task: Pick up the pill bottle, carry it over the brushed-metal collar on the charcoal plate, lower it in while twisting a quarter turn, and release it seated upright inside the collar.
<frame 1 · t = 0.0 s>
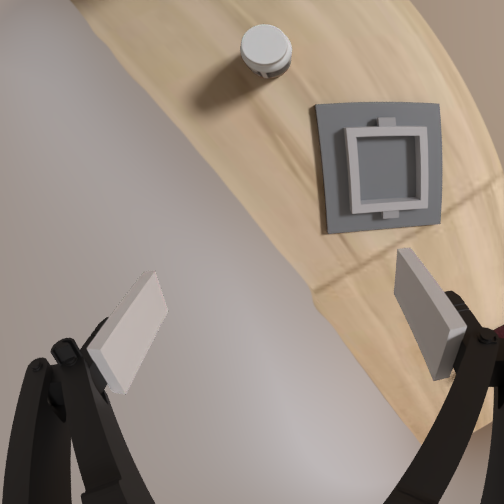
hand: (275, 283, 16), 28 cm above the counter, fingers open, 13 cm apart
vegetable: (498, 340, 50), on the counter
pill bottle: (269, 59, 35), on the counter
socket: (384, 165, 39), on the counter
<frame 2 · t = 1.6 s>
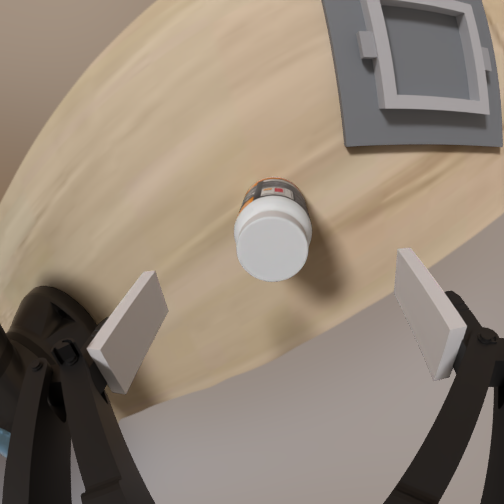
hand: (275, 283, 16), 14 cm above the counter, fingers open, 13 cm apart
pill bottle: (274, 204, 29), on the counter
socket: (422, 53, 21), on the counter
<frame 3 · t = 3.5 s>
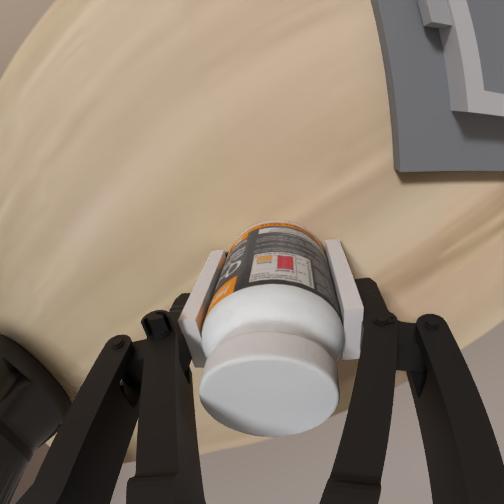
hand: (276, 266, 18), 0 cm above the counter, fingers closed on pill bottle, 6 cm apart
pill bottle: (277, 261, 18), on the counter, touching gripper
socket: (499, 32, 10), on the counter
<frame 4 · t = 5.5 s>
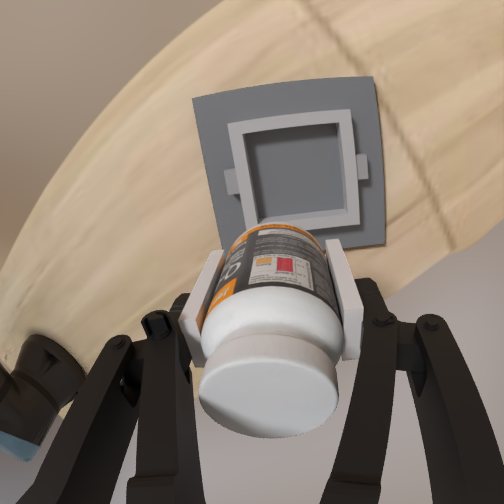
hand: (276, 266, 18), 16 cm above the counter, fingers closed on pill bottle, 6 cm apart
pill bottle: (277, 263, 18), point 15 cm above the counter, touching gripper
socket: (296, 169, 31), on the counter
when the fingers open (3 cm above the counter, at t = 7.9 s): pill bottle drops 2 cm, resting on socket.
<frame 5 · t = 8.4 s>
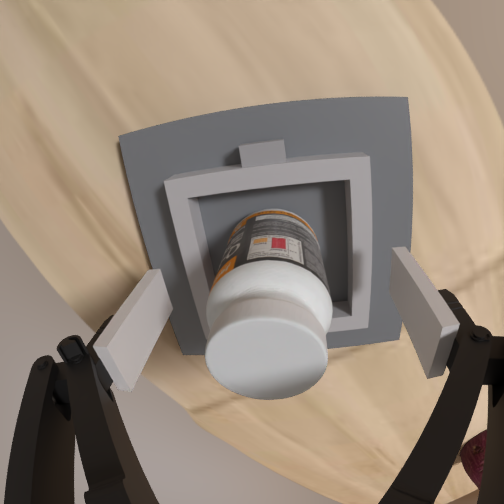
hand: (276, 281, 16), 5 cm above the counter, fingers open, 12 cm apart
vegetable: (485, 438, 32), on the counter
pill bottle: (274, 247, 20), point 1 cm above the counter, touching socket
socket: (278, 242, 21), on the counter
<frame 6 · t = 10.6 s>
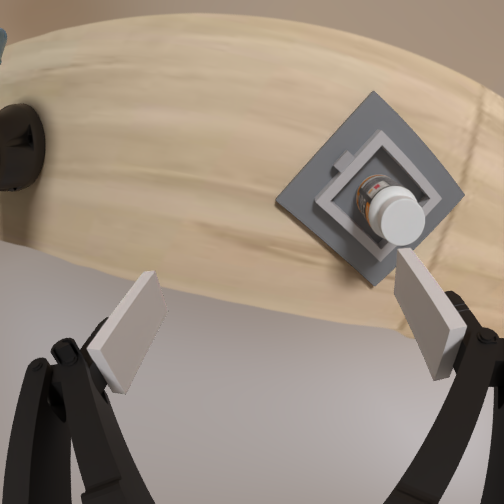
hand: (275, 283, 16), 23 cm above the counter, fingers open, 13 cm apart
pill bottle: (377, 196, 35), point 1 cm above the counter, touching socket
socket: (377, 193, 36), on the counter
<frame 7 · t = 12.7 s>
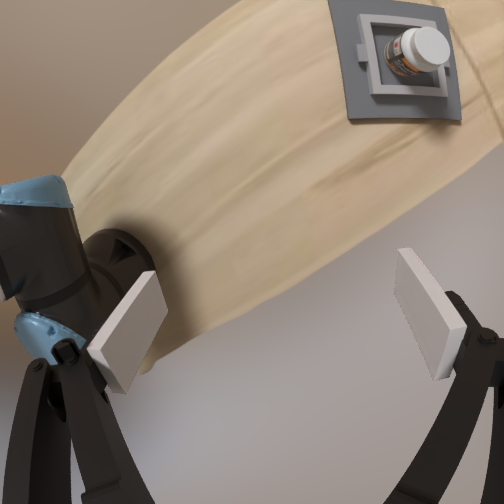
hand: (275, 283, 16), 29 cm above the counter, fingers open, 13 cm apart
pill bottle: (401, 57, 32), point 1 cm above the counter, touching socket
socket: (400, 57, 32), on the counter
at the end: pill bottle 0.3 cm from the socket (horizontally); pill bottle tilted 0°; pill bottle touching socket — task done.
